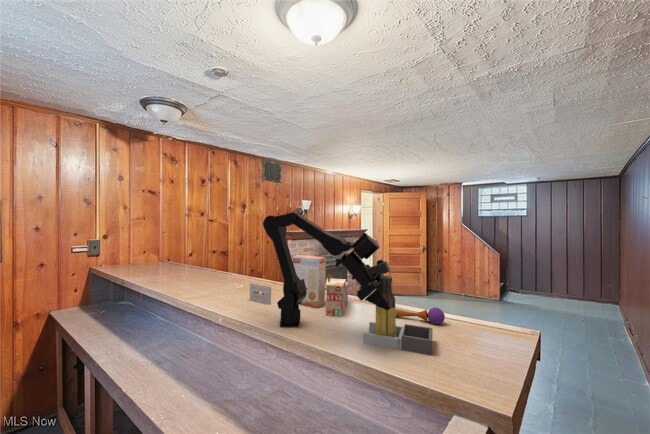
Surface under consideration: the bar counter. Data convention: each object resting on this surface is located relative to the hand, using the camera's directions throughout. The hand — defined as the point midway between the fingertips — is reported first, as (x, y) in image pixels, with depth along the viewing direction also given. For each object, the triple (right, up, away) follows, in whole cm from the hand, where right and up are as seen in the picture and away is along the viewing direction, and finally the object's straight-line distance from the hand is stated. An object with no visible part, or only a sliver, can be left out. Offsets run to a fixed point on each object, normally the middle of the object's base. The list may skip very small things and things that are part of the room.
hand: (390, 306), depth 93 cm
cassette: (-49, -10, +37) cm, 62 cm away
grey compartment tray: (+2, -11, -1) cm, 11 cm away
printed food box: (-15, -11, +32) cm, 37 cm away
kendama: (+14, -12, +19) cm, 27 cm away
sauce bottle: (-2, -11, 0) cm, 11 cm away
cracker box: (-28, -10, +37) cm, 47 cm away
